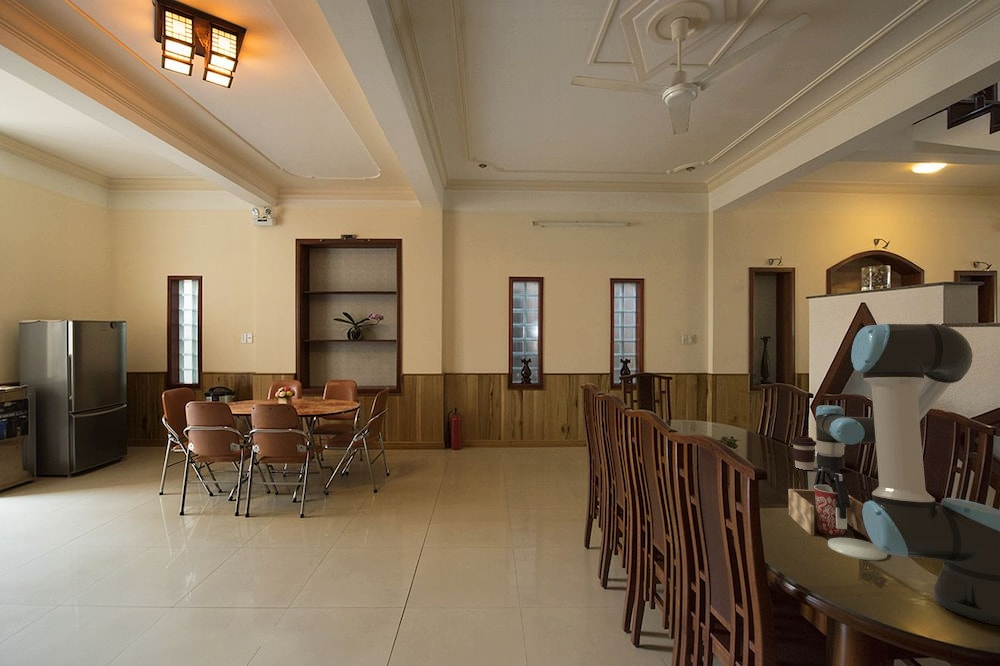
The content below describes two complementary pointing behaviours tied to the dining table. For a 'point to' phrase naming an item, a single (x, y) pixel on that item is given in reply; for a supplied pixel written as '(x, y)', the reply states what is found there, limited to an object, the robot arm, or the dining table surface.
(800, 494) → the crate
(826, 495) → the mug
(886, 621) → the dining table surface
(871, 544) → the disc
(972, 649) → the dining table surface
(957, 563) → the robot arm
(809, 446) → the coffee cup
